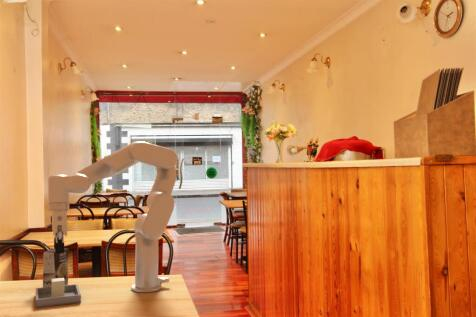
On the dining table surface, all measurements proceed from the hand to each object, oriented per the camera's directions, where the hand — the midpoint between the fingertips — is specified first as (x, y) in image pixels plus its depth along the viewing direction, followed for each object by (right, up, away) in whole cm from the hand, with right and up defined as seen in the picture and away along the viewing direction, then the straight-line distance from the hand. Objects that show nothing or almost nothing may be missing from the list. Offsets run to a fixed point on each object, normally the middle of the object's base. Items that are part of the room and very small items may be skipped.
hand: (59, 250), depth 174 cm
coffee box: (-7, -19, +14) cm, 25 cm away
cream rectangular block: (0, -18, 0) cm, 18 cm away
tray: (0, -19, 0) cm, 19 cm away
